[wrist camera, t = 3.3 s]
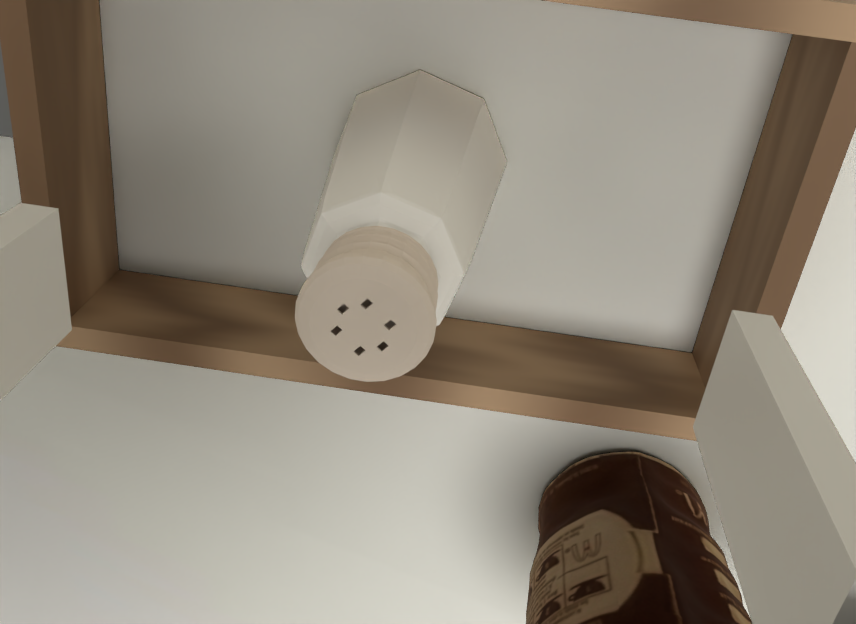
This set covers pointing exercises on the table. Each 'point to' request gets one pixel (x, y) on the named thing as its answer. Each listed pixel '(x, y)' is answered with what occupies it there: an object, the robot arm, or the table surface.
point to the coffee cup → (628, 549)
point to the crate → (454, 338)
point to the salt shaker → (396, 225)
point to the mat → (4, 104)
